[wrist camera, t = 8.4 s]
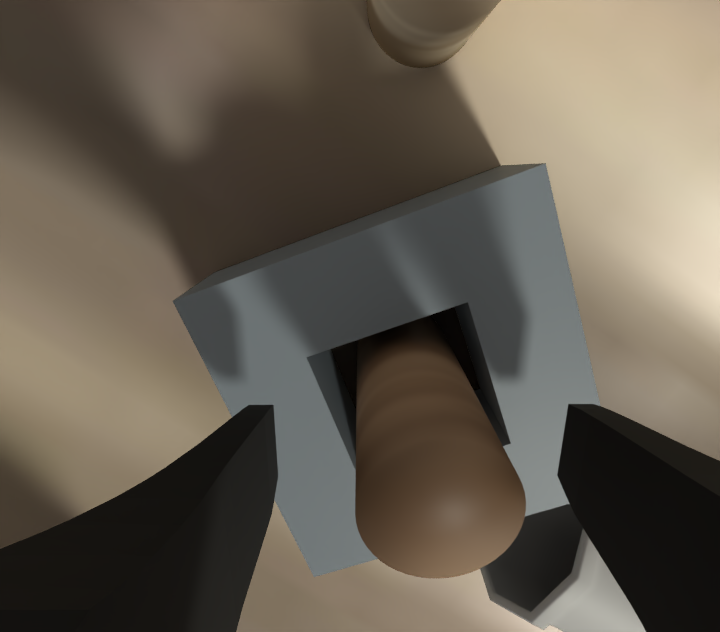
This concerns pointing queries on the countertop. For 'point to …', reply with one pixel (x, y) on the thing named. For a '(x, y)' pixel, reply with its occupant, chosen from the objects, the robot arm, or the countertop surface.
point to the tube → (558, 578)
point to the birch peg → (425, 27)
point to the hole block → (391, 309)
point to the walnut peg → (428, 459)
